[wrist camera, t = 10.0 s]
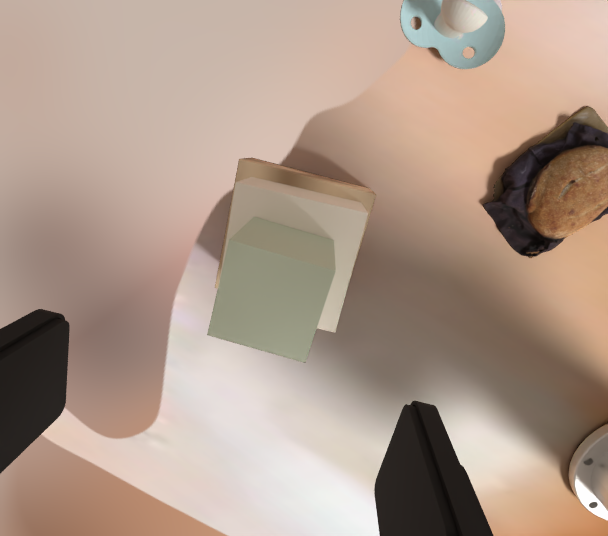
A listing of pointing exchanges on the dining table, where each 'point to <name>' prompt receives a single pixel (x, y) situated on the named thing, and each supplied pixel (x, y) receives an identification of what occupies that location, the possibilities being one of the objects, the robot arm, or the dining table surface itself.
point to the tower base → (300, 180)
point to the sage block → (273, 288)
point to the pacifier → (456, 28)
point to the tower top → (305, 227)
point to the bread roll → (554, 186)
